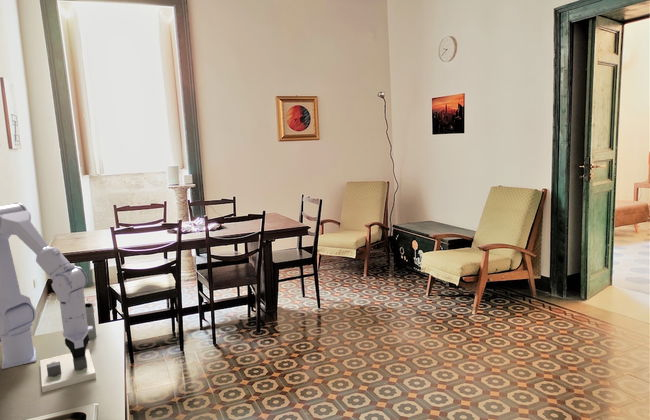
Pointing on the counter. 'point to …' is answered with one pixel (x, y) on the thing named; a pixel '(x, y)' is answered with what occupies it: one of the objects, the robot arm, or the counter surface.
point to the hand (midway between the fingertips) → (79, 362)
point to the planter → (90, 320)
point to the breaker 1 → (53, 369)
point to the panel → (66, 372)
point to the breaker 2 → (80, 362)
